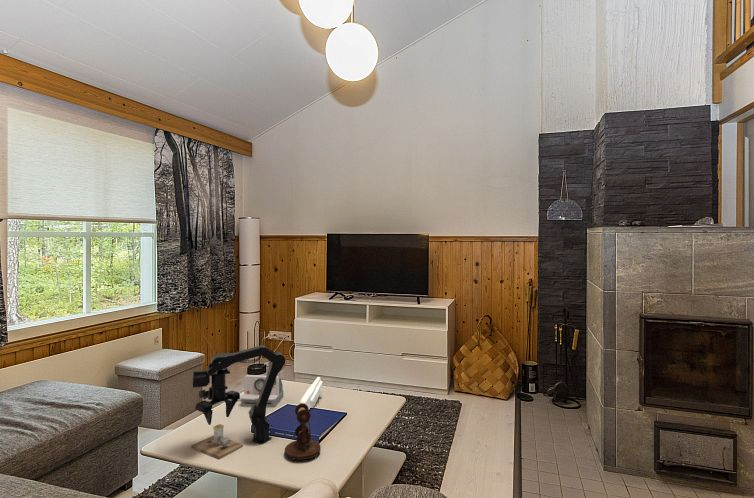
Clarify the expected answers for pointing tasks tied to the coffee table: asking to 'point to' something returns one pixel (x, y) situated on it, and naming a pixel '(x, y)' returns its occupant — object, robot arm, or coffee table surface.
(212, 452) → the hole plate
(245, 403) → the instant camera
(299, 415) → the brown wooden tall piece
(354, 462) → the coffee table surface
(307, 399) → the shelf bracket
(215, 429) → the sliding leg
